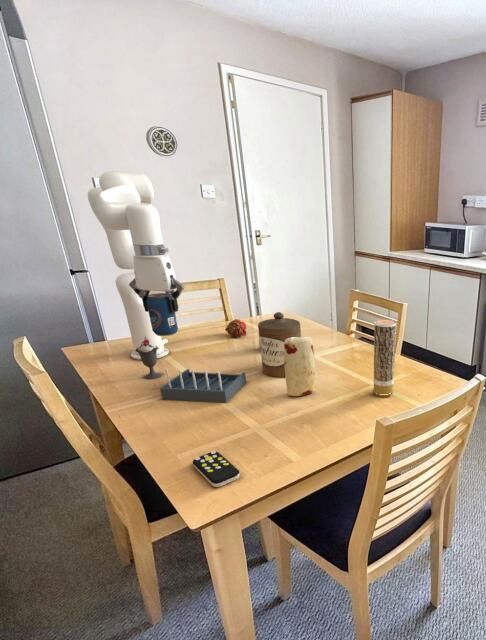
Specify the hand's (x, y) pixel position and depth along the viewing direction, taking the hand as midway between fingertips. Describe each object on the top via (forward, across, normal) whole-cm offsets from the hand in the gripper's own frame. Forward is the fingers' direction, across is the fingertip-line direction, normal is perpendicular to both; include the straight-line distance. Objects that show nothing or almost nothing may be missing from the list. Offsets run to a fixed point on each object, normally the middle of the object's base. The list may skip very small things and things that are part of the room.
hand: (161, 310), depth 125 cm
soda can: (+7, 0, 0) cm, 7 cm away
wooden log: (+26, -68, -5) cm, 73 cm away
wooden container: (+26, -29, -21) cm, 44 cm away
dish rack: (+26, -10, +1) cm, 28 cm away
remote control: (+26, -34, +43) cm, 61 cm away
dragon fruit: (+26, +4, -57) cm, 63 cm away
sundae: (+26, +13, -8) cm, 30 cm away
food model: (+26, -41, -1) cm, 49 cm away
